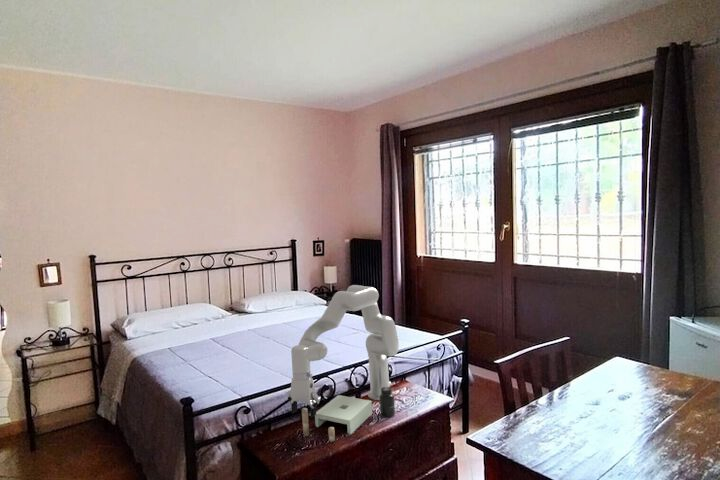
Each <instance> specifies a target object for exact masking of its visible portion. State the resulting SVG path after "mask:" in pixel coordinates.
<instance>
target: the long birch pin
mask: <svg viewBox="0 0 720 480" xmlns="http://www.w3.org/2000/svg"><path fill="white" fill-rule="evenodd" d="M308 410H309V409H308V408H307V407H302V408H301V418H302V419H301V420H302V432H303V433H302V434H303V436H306V437H307V436H309V435H310V425H309V413H308V412H309V411H308Z"/></svg>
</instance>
